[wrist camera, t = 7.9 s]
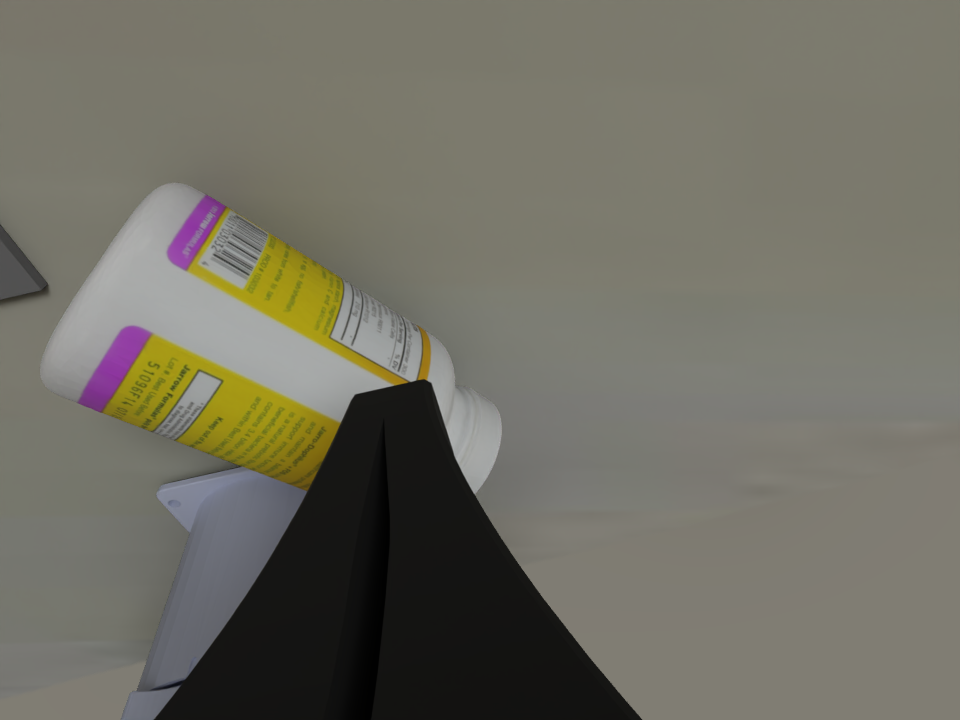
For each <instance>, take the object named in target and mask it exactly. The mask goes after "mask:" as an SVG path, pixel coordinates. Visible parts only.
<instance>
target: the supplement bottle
mask: <svg viewBox="0 0 960 720" xmlns="http://www.w3.org/2000/svg"><path fill="white" fill-rule="evenodd" d="M40 376H41V379H42V382H43V383H44V385H45V386H46V387H47V388H48V389H49V390H50V391H52V392H53V393H55V394H57V395H59V396H61V397H64V398H66V399H69V400H71V401H74V402H77V403H79V404H81V405H84V406H86V407H89V408H91V409H94V410H96V411H98V412H101V413H104V414H107V415H109V416H112V417H114V418H117V419H120V420H122V421H125V422H127V423H130V424H133V425H135V426H138V427H141V428H143V429H146V430H149V431H151V432H154V433H157V434H159V435H162V436H165V437H167V438H170V439H172V440H175V441H177V442H180V443H182V444H185V445H187V446H190V447H193V448H195V449H198V450H200V451H203V452H205V453H208V454H211V455H213V456H216V457H218V458H221V459H224V460H226V461H229V462H231V463H234V464H237V465H239V466H242V467H245V468H247V469H250V470H252V471H255V472H258V473H260V474H263V475H266V476H268V477H271V478H273V479H276V480H279V481H281V482H284V483H287V484H289V485H292V486H294V487H297V488H300V489H302V490H305V491H308V489H309V487H310V485H311V483H312V481H313V479H314V477H315V475H316V473H317V472H318V470H319V468H320V466H321V464H322V462H323V460H324V458H325V456H326V453H327V451H328V449H329V447H330V445H331V443H332V441H333V439H334V437H335V434H336V432H337V430H338V428H339V426H340V424H341V421H342V419H343V417H344V415H345V412H346V410H347V408H348V406H349V404H350V401H351V400H352V398H353V397H354V395H355V394H359V393H363V392H368V391H372V390H377V389H381V388H385V387H390V386H394V385H399V384H403V383H408V382H412V381H417V380H421V379H425V380H427V381H429V382H431V383H432V386H433V389H434V392H435V395H436V398H437V401H438V405H439V408H440V411H441V414H442V417H443V420H444V424H445V427H446V430H447V433H448V436H449V439H450V442H451V446H452V449H453V452H454V456H455V458H456V460H457V462H458V464H459V467H460V469H461V471H462V473H463V475H464V476H465V478H466V480H467V482H468V484H469V486H470V488H471V489H472V491H473V493H474V494H475V493H476V492H477V491H478V490H479V489H480V487H481V486H482V484H483V483H484V482H485V480H486V479H487V477H488V475H489V473H490V471H491V469H492V467H493V465H494V463H495V460H496V457H497V454H498V451H499V447H500V441H501V433H502V424H501V418H500V414H499V412H498V410H497V408H496V406H495V405H494V404H493V403H492V402H491V401H489V400H488V399H487V398H485V397H483V396H482V395H480V394H478V393H477V392H476V391H474V390H473V389H471V388H469V387H466V386H456V385H455V374H454V368H453V364H452V360H451V358H450V356H449V354H448V352H447V350H446V349H445V347H444V346H443V344H442V343H441V342H440V341H439V340H438V339H437V338H436V337H434V336H433V335H431V334H430V333H428V332H426V331H425V330H423V329H422V328H420V327H419V326H417V325H416V324H414V323H413V322H411V321H409V320H408V319H406V318H404V317H403V316H401V315H399V314H398V313H396V312H395V311H393V310H391V309H390V308H388V307H387V306H385V305H383V304H382V303H380V302H379V301H377V300H375V299H374V298H372V297H370V296H369V295H367V294H366V293H364V292H362V291H361V290H359V289H358V288H356V287H354V286H353V285H351V284H350V283H348V282H346V281H345V280H343V279H342V278H340V277H338V276H337V275H335V274H334V273H332V272H331V271H329V270H327V269H326V268H324V267H322V266H321V265H319V264H318V263H316V262H315V261H313V260H311V259H310V258H308V257H307V256H305V255H303V254H302V253H300V252H299V251H297V250H295V249H294V248H292V247H291V246H289V245H287V244H286V243H284V242H282V241H281V240H279V239H278V238H276V237H274V236H273V235H271V234H270V233H268V232H266V231H265V230H263V229H262V228H260V227H258V226H257V225H255V224H254V223H252V222H250V221H249V220H247V219H246V218H244V217H242V216H241V215H239V214H238V213H236V212H234V211H233V210H231V209H229V208H228V207H226V206H224V205H223V204H221V203H219V202H218V201H216V200H215V199H213V198H211V197H209V196H207V195H206V194H204V193H202V192H200V191H198V190H197V189H195V188H193V187H191V186H188V185H185V184H182V183H168V184H165V185H162V186H160V187H158V188H156V189H155V190H153V191H152V192H151V193H150V194H149V195H148V196H147V197H146V198H145V199H144V200H143V201H142V202H141V203H140V204H139V205H138V207H137V208H136V209H135V210H134V212H133V213H132V214H131V216H130V217H129V218H128V220H127V221H126V222H125V224H124V225H123V227H122V228H121V230H120V231H119V232H118V234H117V235H116V237H115V238H114V239H113V241H112V242H111V244H110V245H109V247H108V248H107V250H106V251H105V253H104V254H103V256H102V257H101V259H100V260H99V262H98V263H97V265H96V266H95V267H94V269H93V270H92V272H91V273H90V275H89V276H88V277H87V279H86V280H85V282H84V283H83V285H82V286H81V288H80V289H79V291H78V292H77V294H76V295H75V297H74V298H73V300H72V301H71V303H70V305H69V306H68V308H67V310H66V311H65V313H64V315H63V316H62V318H61V320H60V321H59V323H58V325H57V326H56V328H55V330H54V332H53V334H52V336H51V338H50V340H49V342H48V344H47V346H46V349H45V351H44V354H43V357H42V360H41V365H40Z"/></svg>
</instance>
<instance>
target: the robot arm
mask: <svg viewBox="0 0 960 720" xmlns="http://www.w3.org/2000/svg"><path fill="white" fill-rule="evenodd" d="M156 496H157V498H158V499H159V500H160V501H161V503H162V504H163V505H164V506H165V507H166V508H167V509H168V510H169V511H170V512H171V513H172V514H173V516H174V517H175V518H176V519H177V520H178V521H179V522H180V523H181V524H182V525H183V526H184V527H185V529H186V530H187V531H188V532H189V533H190V534H189V537H188V540H187V543H186V546H185V549H184V552H183V555H182V558H181V561H180V564H179V567H178V570H177V573H176V576H175V579H174V582H173V585H172V588H171V591H170V594H169V597H168V600H167V602H166V605H165V608H164V611H163V614H162V617H161V620H160V623H159V626H158V629H157V632H156V635H155V638H154V641H153V644H152V647H151V650H150V653H149V656H148V659H147V662H146V665H145V668H144V671H143V674H142V677H141V680H140V682H139V685H138V688H137V691H132V692H131V693H130V694H129V697H128V700H127V703H126V706H125V709H124V711H123V714H122V718H121V720H642V719H641V718H640V716H639V715H638V714H637V713H636V712H635V711H634V710H633V709H632V707H631V706H630V705H629V704H628V703H627V702H626V701H625V699H624V698H623V697H622V696H621V695H620V693H619V692H618V691H617V690H616V689H615V687H614V686H613V685H612V684H611V683H610V681H609V680H608V679H607V678H606V677H605V676H604V674H603V673H602V672H601V671H600V670H599V669H598V667H597V666H596V665H595V664H594V662H593V661H592V660H591V659H590V658H589V656H588V655H587V654H586V653H585V651H584V650H583V649H582V647H581V646H580V645H579V644H578V642H577V641H576V640H575V638H574V637H573V636H572V635H571V633H570V632H569V631H568V629H567V628H566V627H565V626H564V624H563V623H562V622H561V621H560V619H559V618H558V617H557V615H556V614H555V613H554V612H553V610H552V609H551V608H550V606H549V605H548V604H547V603H546V601H545V600H544V599H543V598H542V596H541V595H540V593H539V592H538V591H537V589H536V588H535V586H534V585H533V584H532V582H531V581H530V579H529V578H528V577H527V575H526V574H525V572H524V571H523V570H522V568H521V567H520V565H519V564H518V563H517V561H516V560H515V558H514V557H513V555H512V554H511V552H510V551H509V549H508V548H507V546H506V545H505V543H504V542H503V540H502V539H501V537H500V536H499V534H498V533H497V531H496V529H495V528H494V526H493V525H492V523H491V521H490V520H489V518H488V517H487V515H486V513H485V512H484V510H483V508H482V507H481V505H480V503H479V501H478V500H477V498H476V496H475V495H474V493H473V491H472V489H471V488H470V486H469V484H468V482H467V480H466V478H465V476H464V475H463V473H462V471H461V469H460V467H459V464H458V462H457V460H456V458H455V456H454V452H453V449H452V446H451V442H450V439H449V436H448V433H447V430H446V427H445V424H444V420H443V417H442V414H441V411H440V408H439V405H438V401H437V398H436V395H435V392H434V389H433V386H432V383H431V382H429V381H427V380H425V379H421V380H417V381H412V382H408V383H403V384H399V385H394V386H390V387H385V388H381V389H377V390H372V391H368V392H363V393H359V394H355V395H354V397H353V398H352V400H351V401H350V404H349V406H348V408H347V410H346V412H345V415H344V417H343V419H342V421H341V424H340V426H339V428H338V430H337V432H336V434H335V437H334V439H333V441H332V443H331V445H330V447H329V449H328V451H327V453H326V456H325V458H324V460H323V462H322V464H321V466H320V468H319V470H318V472H317V473H316V475H315V477H314V479H313V481H312V483H311V485H310V487H309V489H308V491H305V490H302V489H300V488H297V487H294V486H292V485H289V484H287V483H284V482H281V481H279V480H276V479H273V478H271V477H268V476H266V475H263V474H260V473H258V472H255V471H252V470H250V469H247V468H245V467H239V468H235V469H230V470H226V471H221V472H217V473H212V474H208V475H203V476H199V477H195V478H190V479H186V480H181V481H177V482H172V483H168V484H164V485H161V486H160V487H159V489H158V491H157V495H156Z"/></svg>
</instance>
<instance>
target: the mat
mask: <svg viewBox="0 0 960 720" xmlns="http://www.w3.org/2000/svg"><path fill="white" fill-rule="evenodd" d="M46 285H47V283H46V281H45V280H44V279H43V278H42V276H41V275H40V274H39V273H38V271H37V270H36V269H35V268H34V266H33V265H32V264H31V263H30V261H29V260H28V259H27V258H26V257H25V255H24V254H23V253H22V252H21V250H20V249H19V248H18V247H17V245H16V244H15V243H14V242H13V240H12V239H11V238H10V237H9V235H8V234H7V233H6V232H5V230H4V229H3V228H2V227H1V225H0V299H5V298H9V297H14V296H18V295H22V294H27V293H31V292H36V291H40V290H42V289H43V288H44V287H45V286H46Z"/></svg>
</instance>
